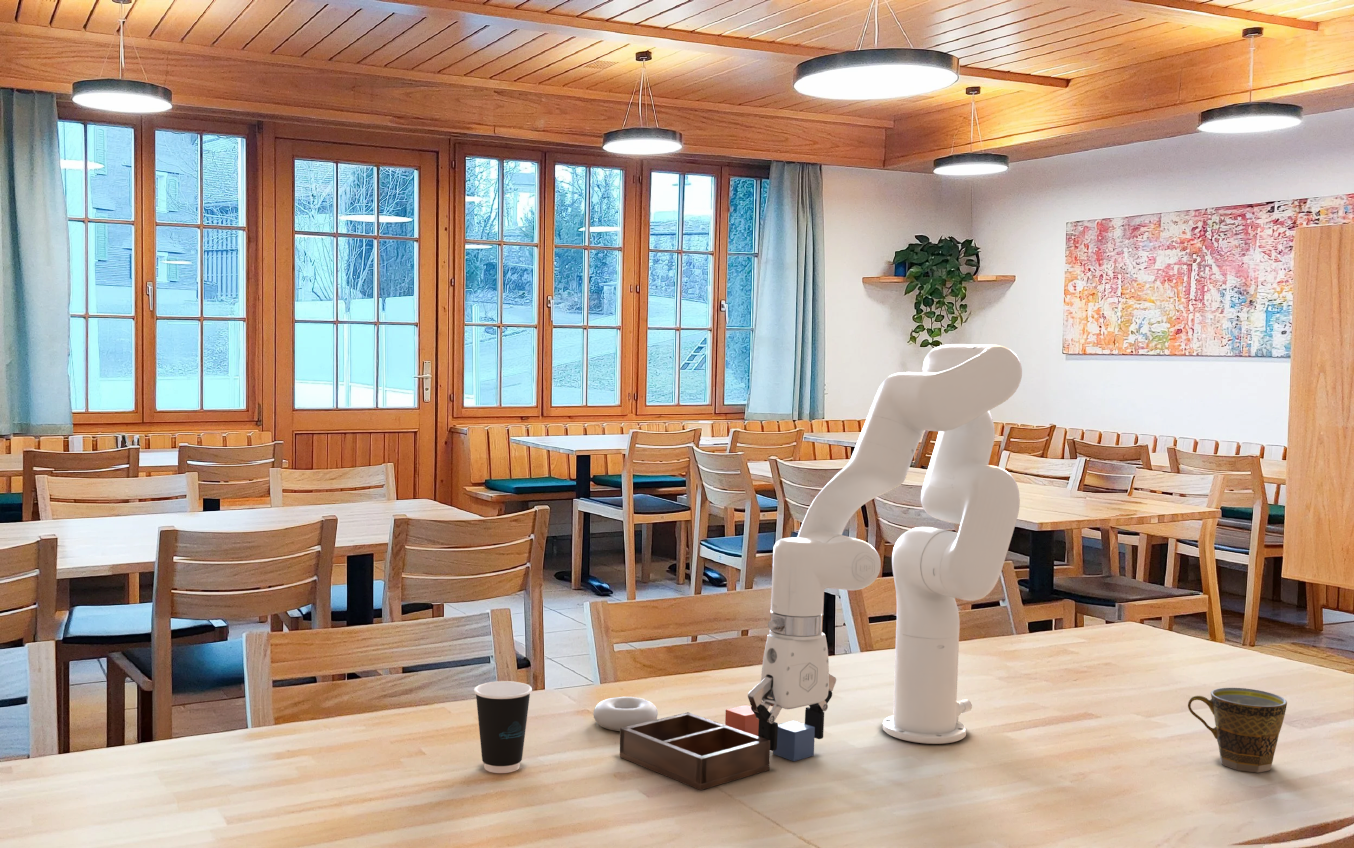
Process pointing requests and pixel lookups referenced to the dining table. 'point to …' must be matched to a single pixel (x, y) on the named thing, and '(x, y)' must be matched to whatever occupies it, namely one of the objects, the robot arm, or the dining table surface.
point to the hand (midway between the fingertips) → (790, 742)
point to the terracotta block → (742, 719)
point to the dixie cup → (502, 723)
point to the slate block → (795, 740)
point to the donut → (624, 712)
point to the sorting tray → (695, 750)
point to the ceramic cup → (1245, 726)
